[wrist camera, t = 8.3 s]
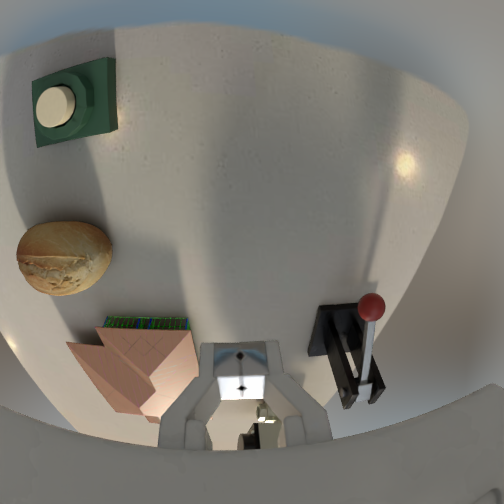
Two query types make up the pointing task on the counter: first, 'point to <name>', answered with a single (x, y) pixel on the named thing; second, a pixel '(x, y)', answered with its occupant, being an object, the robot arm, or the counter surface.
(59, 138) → the control block
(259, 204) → the counter surface
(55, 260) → the bread roll
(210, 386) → the robot arm
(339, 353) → the bracket
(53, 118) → the button
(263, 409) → the ball valve
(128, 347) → the house
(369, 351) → the lever
